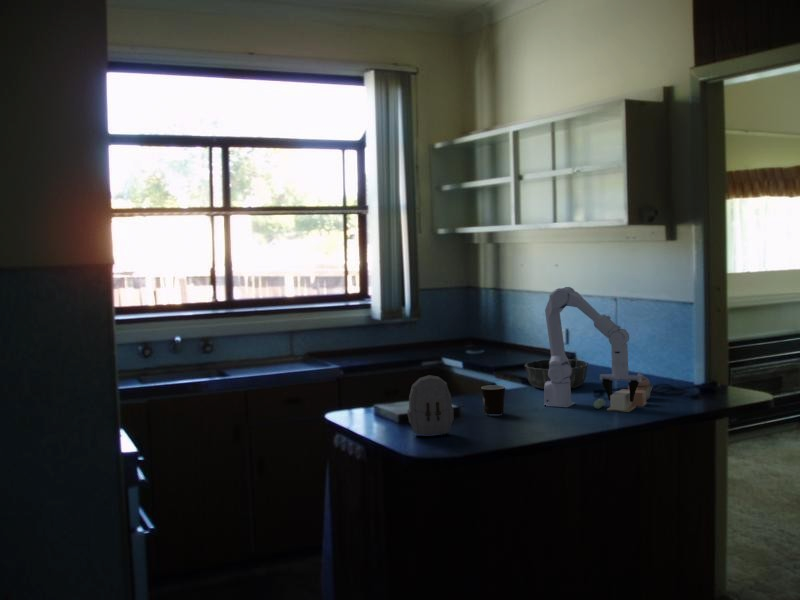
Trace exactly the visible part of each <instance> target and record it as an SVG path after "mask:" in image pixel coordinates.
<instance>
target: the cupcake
mask: <svg viewBox="0 0 800 600" xmlns="http://www.w3.org/2000/svg"><path fill="white" fill-rule="evenodd" d="M637 376H641V379H642V381H641V382H639V384H638V386H637V389H636V390H646V401H647V400H649V399H650V396H651V392H652V389H653V388H654V386H653V385H651V382H650V381H651V380H649V379H648V377H645V376H644V375H643V374H642V373H640V372H638V374H637ZM629 382H631V381H629ZM627 390H630V389H629V385H627Z"/></svg>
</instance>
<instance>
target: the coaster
mask: <svg viewBox="0 0 800 600" xmlns="http://www.w3.org/2000/svg"><path fill="white" fill-rule="evenodd" d="M636 407H637V406H630V407H629V408H627V409H626V410H613V409H611V406H609V407H608V408H607V409H606V411H611V412H622V413H623V412H624V413H625V412H627V413H630V412H631V411H633V410H634V409H636Z"/></svg>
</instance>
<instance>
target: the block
mask: <svg viewBox="0 0 800 600" xmlns="http://www.w3.org/2000/svg"><path fill="white" fill-rule="evenodd" d="M609 403H610V406H609V407H611V409H613V410H626V409H627V408H629V407H630V406H631V405H632V402H630V392H626V391H620V390H617V391H615V392H612V395H610V401H609Z"/></svg>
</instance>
